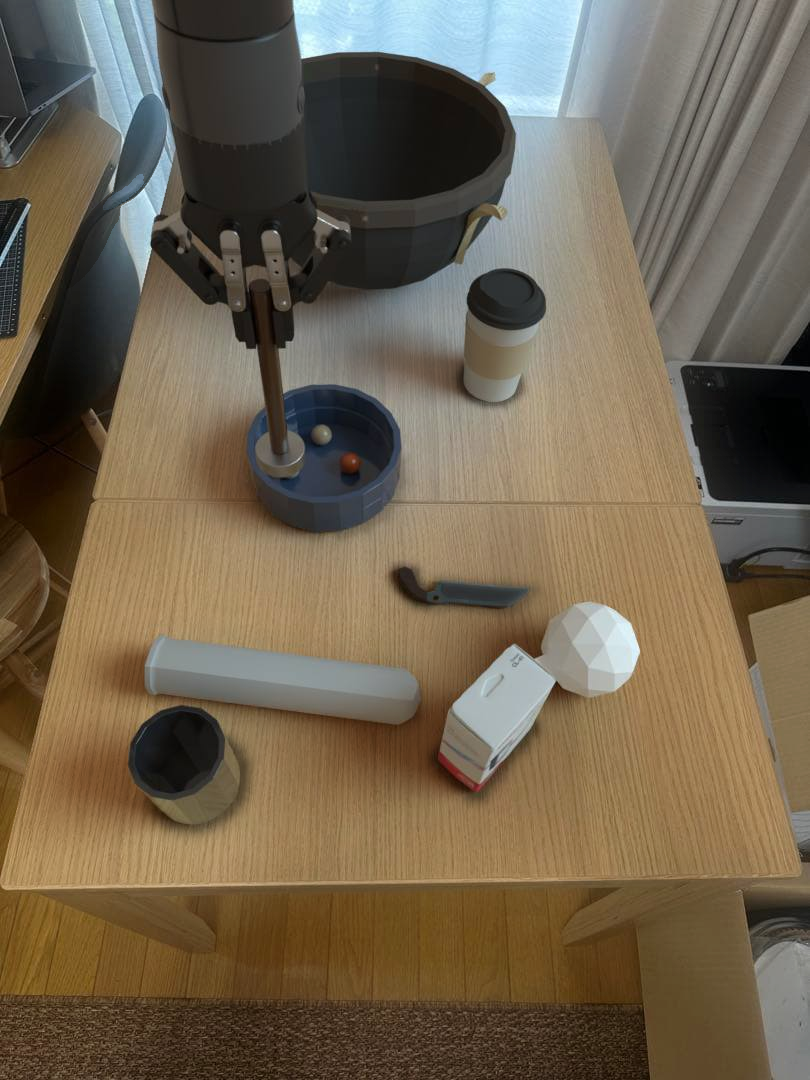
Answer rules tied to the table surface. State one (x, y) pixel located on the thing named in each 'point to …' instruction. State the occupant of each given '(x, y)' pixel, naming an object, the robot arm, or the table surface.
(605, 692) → the light bulb
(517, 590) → the knife
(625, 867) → the table surface
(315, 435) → the bead
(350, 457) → the bead
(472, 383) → the coffee cup
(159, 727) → the holder
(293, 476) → the bead
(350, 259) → the bowl
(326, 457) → the mixing bowl
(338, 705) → the tube
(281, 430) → the brown handled pestle
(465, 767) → the ink box
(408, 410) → the table surface
